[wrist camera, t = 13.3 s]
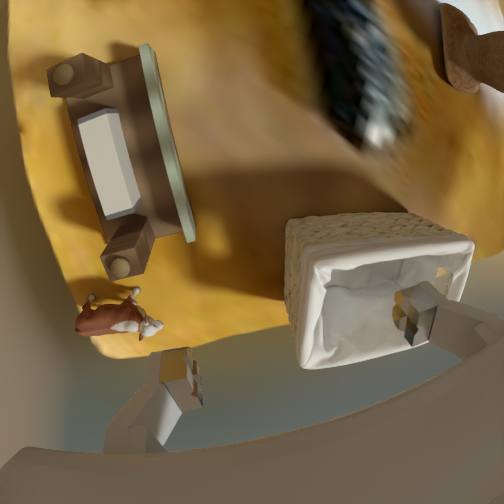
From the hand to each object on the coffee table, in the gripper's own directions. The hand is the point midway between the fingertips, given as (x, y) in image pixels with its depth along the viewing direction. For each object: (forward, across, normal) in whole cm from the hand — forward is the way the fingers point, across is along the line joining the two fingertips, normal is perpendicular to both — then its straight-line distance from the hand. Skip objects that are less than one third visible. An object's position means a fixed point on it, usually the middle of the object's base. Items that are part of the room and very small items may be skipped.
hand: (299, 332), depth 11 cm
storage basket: (+29, -15, +16) cm, 37 cm away
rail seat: (+29, +12, -6) cm, 32 cm away
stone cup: (+29, -41, -16) cm, 53 cm away
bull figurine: (+29, +20, +14) cm, 38 cm away
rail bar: (+28, +13, -6) cm, 31 cm away
